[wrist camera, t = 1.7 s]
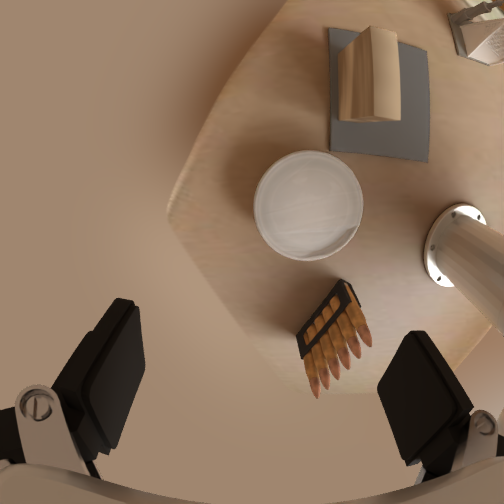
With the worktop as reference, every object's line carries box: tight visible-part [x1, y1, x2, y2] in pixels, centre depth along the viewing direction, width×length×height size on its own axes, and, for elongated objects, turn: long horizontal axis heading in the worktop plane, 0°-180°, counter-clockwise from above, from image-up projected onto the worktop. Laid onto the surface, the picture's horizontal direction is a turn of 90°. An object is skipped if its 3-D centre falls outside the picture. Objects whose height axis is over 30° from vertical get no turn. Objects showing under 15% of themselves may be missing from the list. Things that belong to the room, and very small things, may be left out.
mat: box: [328, 28, 430, 163], centre depth 26 cm, size 13×15×1 cm
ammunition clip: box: [296, 279, 372, 399], centre depth 32 cm, size 11×2×12 cm, turn 151°
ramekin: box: [253, 150, 363, 261], centre depth 29 cm, size 11×11×5 cm
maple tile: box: [338, 26, 401, 123], centre depth 21 cm, size 2×8×10 cm, turn 0°
